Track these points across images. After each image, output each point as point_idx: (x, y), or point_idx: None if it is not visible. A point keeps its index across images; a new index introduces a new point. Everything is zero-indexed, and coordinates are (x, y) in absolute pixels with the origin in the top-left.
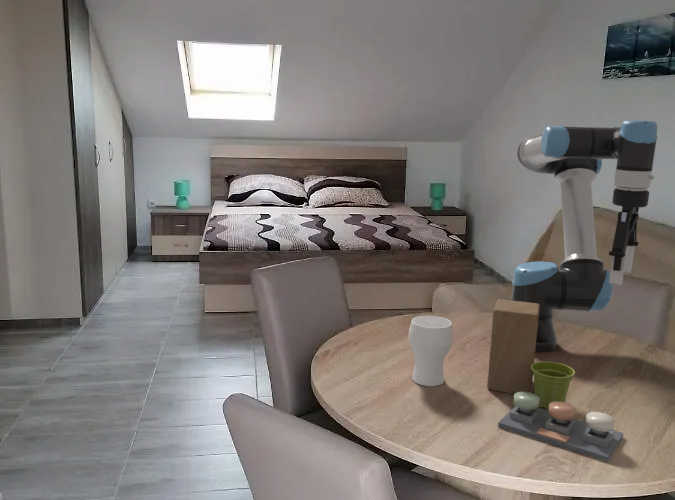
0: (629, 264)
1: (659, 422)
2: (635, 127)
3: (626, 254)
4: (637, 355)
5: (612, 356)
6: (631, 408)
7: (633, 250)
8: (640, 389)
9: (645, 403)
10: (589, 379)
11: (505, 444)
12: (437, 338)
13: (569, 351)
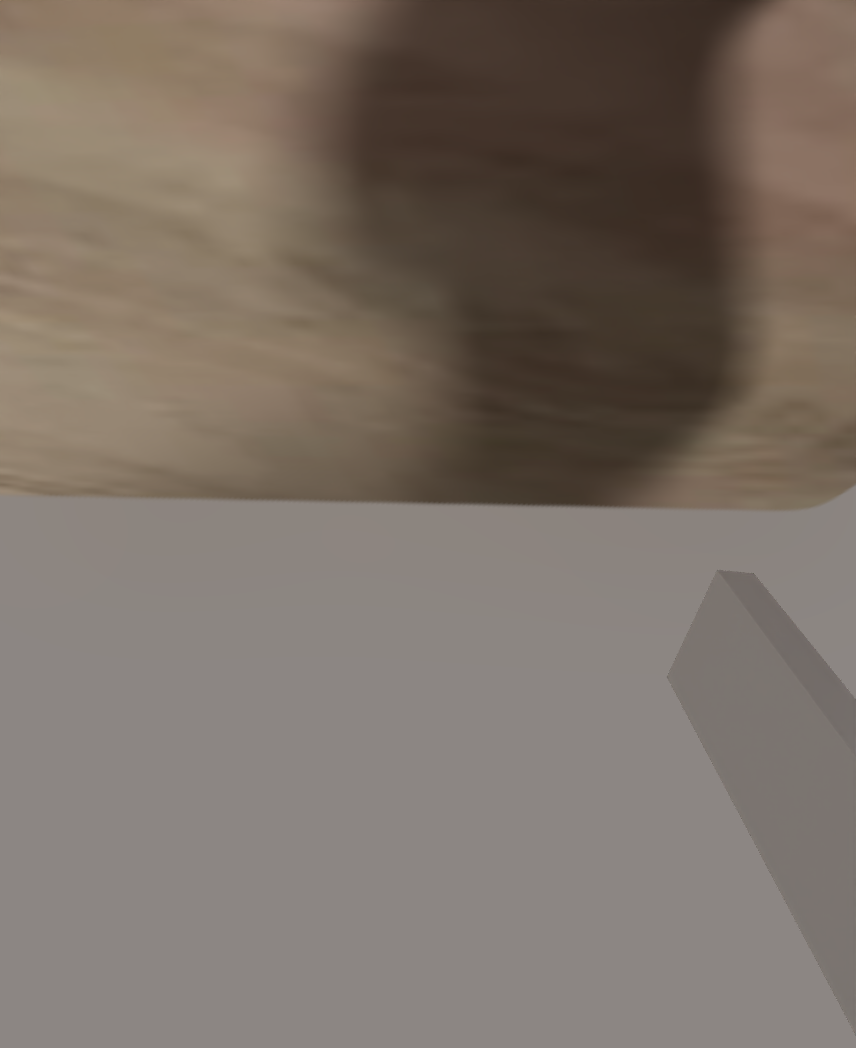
0: (719, 737)
1: (41, 465)
2: None
3: (820, 822)
4: (771, 393)
5: (731, 282)
6: (107, 369)
7: (822, 965)
8: (348, 403)
9: (201, 421)
10: (355, 171)
11: None
12: None
13: (761, 27)
